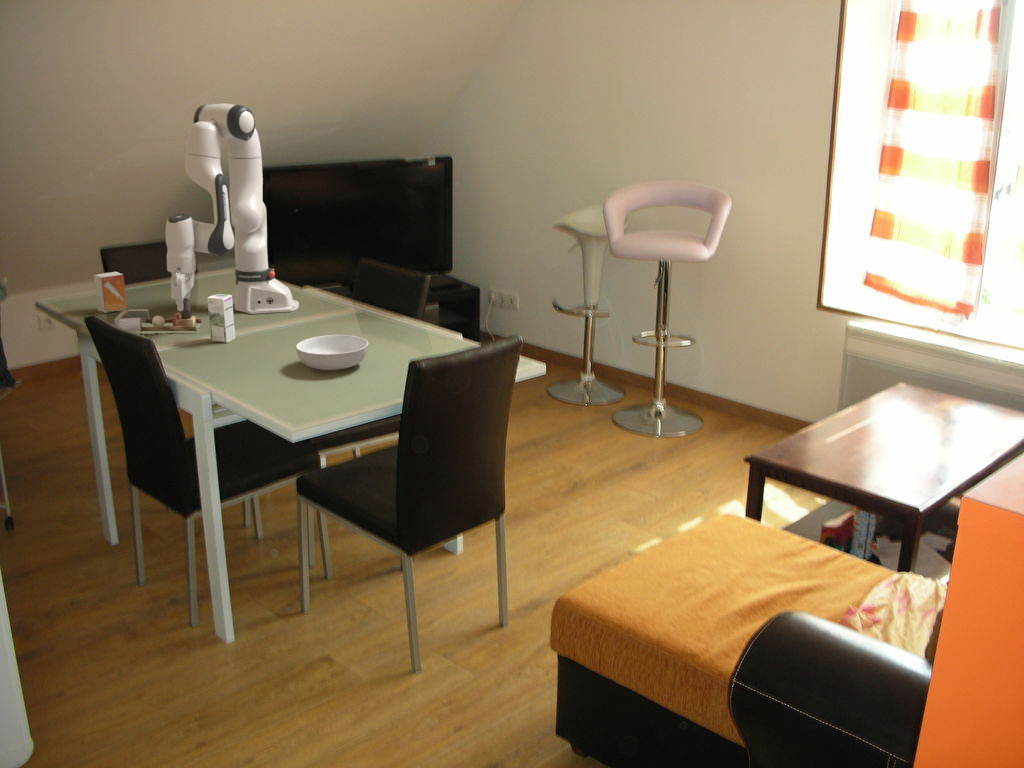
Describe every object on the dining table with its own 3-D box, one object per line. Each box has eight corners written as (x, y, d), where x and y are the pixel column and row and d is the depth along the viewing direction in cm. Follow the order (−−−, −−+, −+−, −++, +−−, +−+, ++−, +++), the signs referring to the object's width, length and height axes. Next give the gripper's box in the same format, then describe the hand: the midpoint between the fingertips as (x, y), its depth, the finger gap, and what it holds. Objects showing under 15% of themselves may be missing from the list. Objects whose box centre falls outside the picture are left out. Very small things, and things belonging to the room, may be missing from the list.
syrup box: (236, 338, 334) (232, 294, 330) (226, 343, 329) (222, 298, 324) (220, 337, 336) (216, 292, 331) (210, 341, 330) (206, 297, 326)
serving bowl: (336, 352, 321) (335, 330, 319) (383, 365, 309) (383, 342, 306) (282, 367, 306) (280, 344, 304) (330, 381, 293) (328, 358, 291)
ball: (166, 326, 347) (165, 314, 346) (163, 329, 343) (162, 317, 342) (153, 326, 347) (152, 314, 345) (151, 329, 343) (150, 317, 342)
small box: (105, 314, 362) (100, 277, 358) (97, 311, 367) (93, 274, 363) (127, 310, 368) (123, 274, 364) (119, 307, 372) (115, 271, 368)
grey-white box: (149, 323, 351) (148, 309, 349) (141, 334, 338) (139, 319, 337) (125, 324, 350) (123, 309, 348) (115, 334, 338) (114, 319, 336)
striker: (196, 323, 350) (194, 297, 347) (192, 329, 343) (190, 302, 340) (177, 324, 349) (175, 297, 346) (173, 330, 342) (170, 303, 339)
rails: (202, 322, 352) (201, 318, 351) (196, 331, 341) (196, 326, 341) (146, 323, 350) (146, 319, 349) (139, 332, 339) (139, 327, 339)
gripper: (185, 272, 329) (187, 315, 334) (196, 259, 349) (198, 299, 353) (164, 271, 329) (167, 314, 333) (177, 258, 348) (179, 299, 352)
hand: (183, 306), depth 343 cm, fingers open, 8 cm apart
